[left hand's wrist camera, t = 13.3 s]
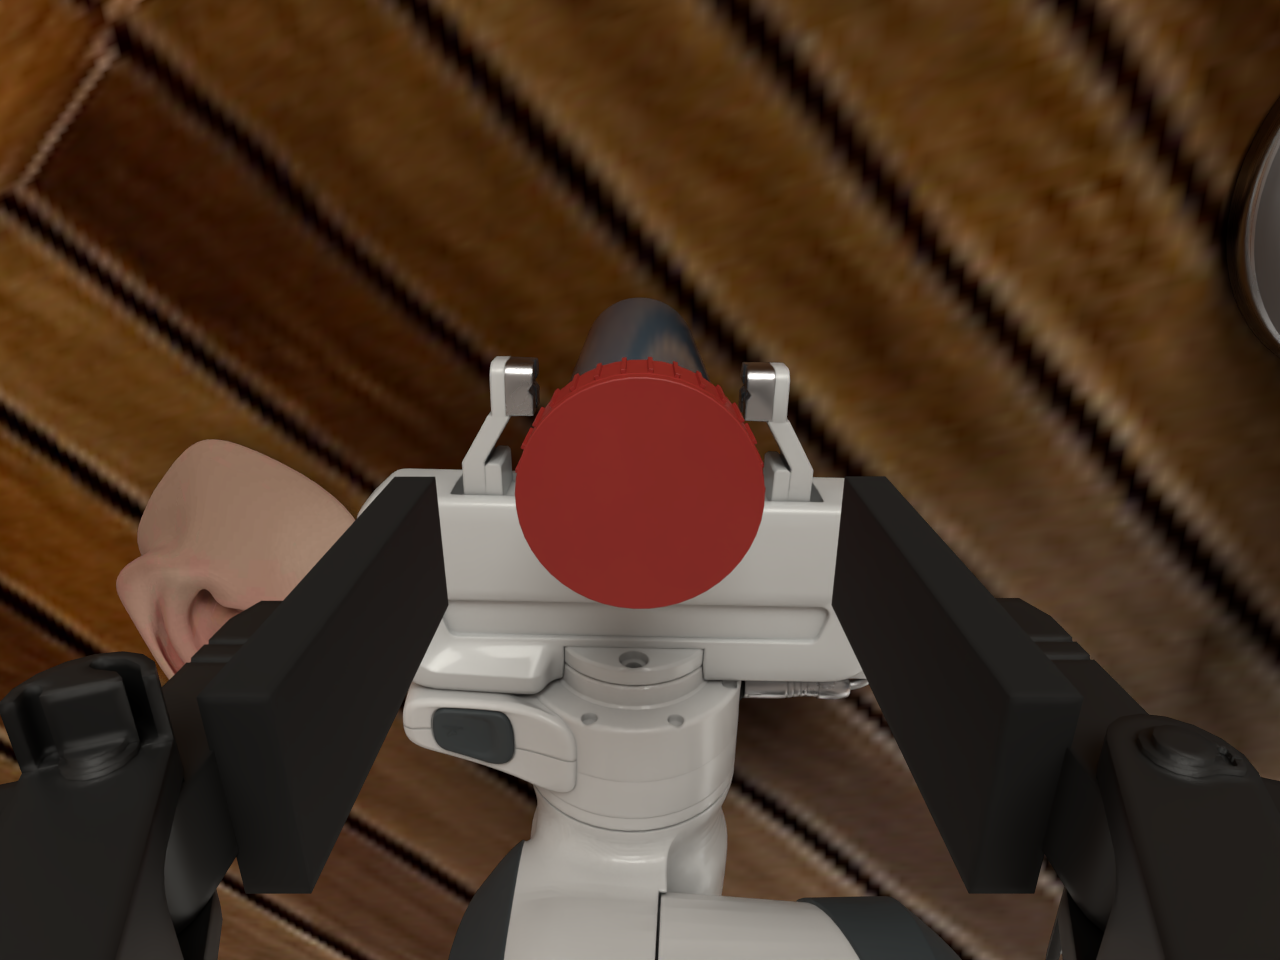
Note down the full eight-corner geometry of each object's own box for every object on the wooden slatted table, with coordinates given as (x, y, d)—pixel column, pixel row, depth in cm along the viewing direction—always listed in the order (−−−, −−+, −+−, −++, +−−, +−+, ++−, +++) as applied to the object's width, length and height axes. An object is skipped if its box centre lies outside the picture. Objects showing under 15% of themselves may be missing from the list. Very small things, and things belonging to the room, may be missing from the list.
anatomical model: (80, 446, 29) (372, 517, 30) (144, 419, 33) (402, 482, 34) (79, 715, 34) (333, 768, 35) (135, 664, 37) (363, 713, 38)
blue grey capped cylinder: (674, 281, 31) (709, 358, 15) (708, 386, 32) (770, 551, 17) (569, 319, 31) (500, 430, 16) (607, 420, 33) (578, 610, 18)
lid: (716, 321, 17) (725, 335, 15) (783, 536, 18) (797, 570, 17) (487, 401, 17) (469, 424, 16) (573, 601, 19) (567, 641, 17)
